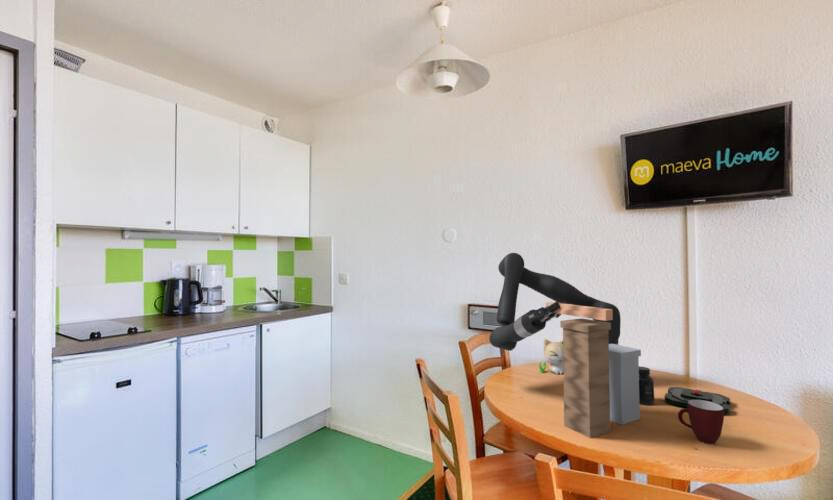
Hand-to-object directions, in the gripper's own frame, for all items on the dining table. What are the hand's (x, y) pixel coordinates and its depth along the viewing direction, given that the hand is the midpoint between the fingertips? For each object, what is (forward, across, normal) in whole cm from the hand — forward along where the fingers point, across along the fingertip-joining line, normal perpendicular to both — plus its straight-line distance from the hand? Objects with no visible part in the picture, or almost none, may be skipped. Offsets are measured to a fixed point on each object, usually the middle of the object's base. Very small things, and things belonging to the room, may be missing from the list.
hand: (562, 304), depth 122 cm
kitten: (-50, +36, +14) cm, 63 cm away
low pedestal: (-12, +16, +36) cm, 41 cm away
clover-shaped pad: (-7, +51, +39) cm, 65 cm away
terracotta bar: (+3, 0, +5) cm, 6 cm away
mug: (+6, +22, +46) cm, 51 cm away
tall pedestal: (-11, 0, +36) cm, 37 cm away
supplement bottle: (-15, +35, +34) cm, 51 cm away
